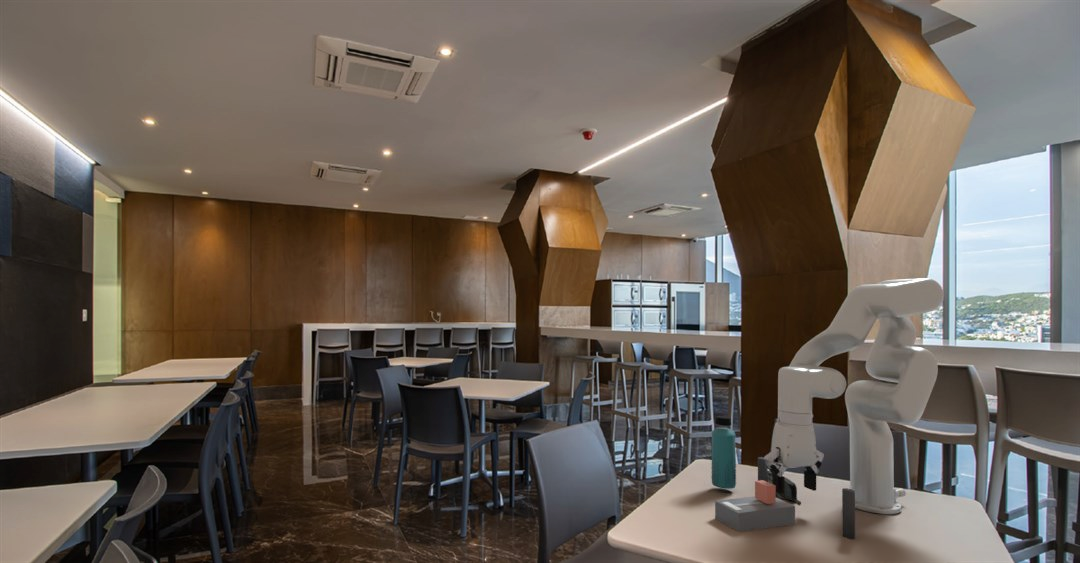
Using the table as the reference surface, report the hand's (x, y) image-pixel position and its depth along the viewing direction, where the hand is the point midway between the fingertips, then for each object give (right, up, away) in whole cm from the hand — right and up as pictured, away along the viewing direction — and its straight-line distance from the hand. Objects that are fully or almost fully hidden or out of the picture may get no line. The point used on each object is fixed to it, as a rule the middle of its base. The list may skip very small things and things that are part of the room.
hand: (794, 490), depth 129 cm
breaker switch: (-8, -1, -3) cm, 9 cm away
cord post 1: (-2, -7, +13) cm, 15 cm away
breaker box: (-11, -6, -4) cm, 13 cm away
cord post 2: (+6, -6, -12) cm, 15 cm away
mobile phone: (+4, -7, +15) cm, 17 cm away
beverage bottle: (-11, -7, +17) cm, 21 cm away
